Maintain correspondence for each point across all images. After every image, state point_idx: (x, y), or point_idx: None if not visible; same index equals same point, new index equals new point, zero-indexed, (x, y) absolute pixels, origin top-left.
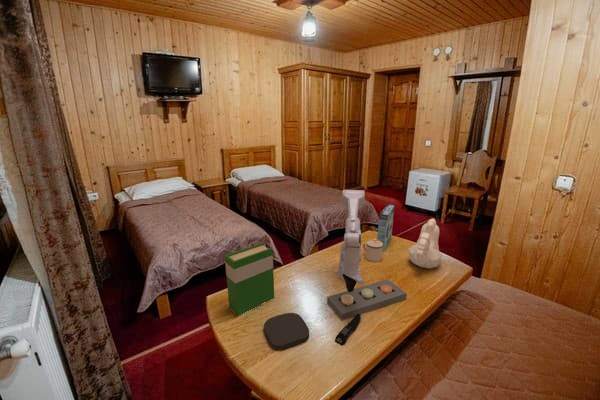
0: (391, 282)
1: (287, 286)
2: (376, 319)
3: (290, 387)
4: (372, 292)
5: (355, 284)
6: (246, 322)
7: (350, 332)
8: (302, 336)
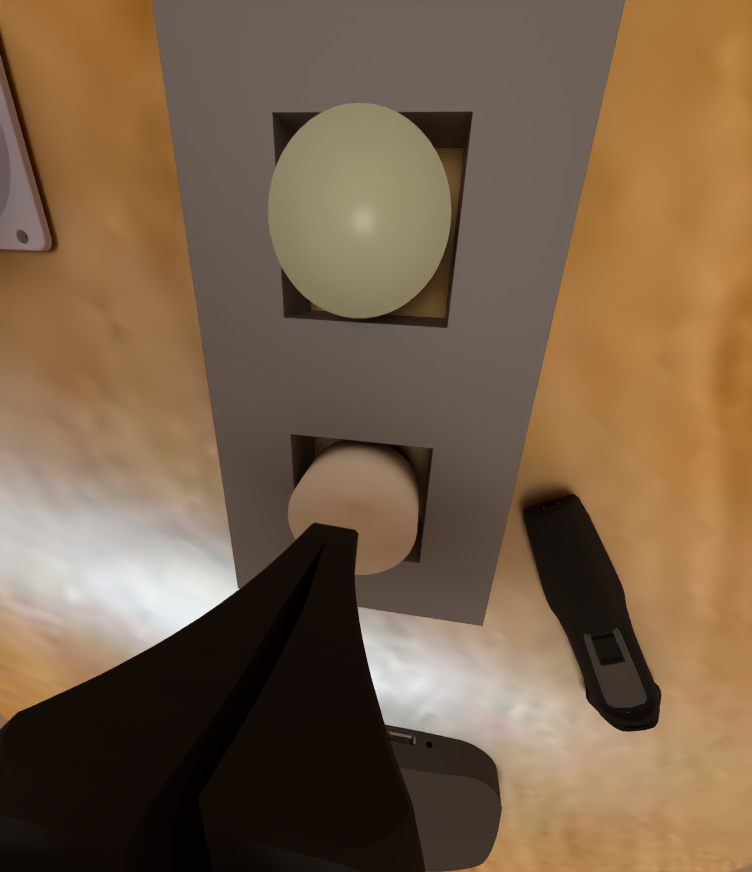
0: None
1: (47, 630)
2: (655, 350)
3: None
4: (406, 145)
5: (361, 634)
6: None
7: (638, 644)
8: (489, 812)
